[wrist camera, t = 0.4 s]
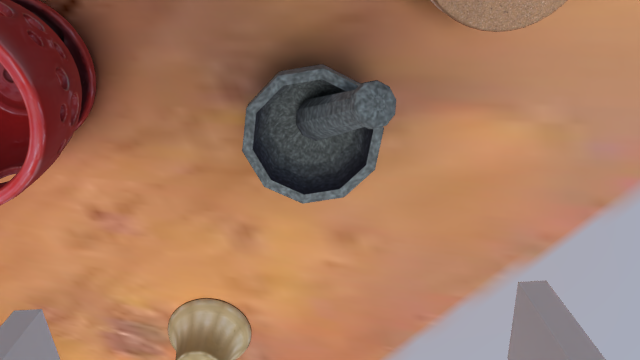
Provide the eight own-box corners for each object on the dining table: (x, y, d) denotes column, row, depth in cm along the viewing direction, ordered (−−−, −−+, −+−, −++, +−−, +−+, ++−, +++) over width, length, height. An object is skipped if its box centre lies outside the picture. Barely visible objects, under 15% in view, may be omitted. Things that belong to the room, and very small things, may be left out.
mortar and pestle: (310, 188, 42) (311, 265, 31) (228, 115, 39) (197, 172, 28) (407, 98, 39) (446, 148, 28) (326, 12, 36) (333, 30, 25)
